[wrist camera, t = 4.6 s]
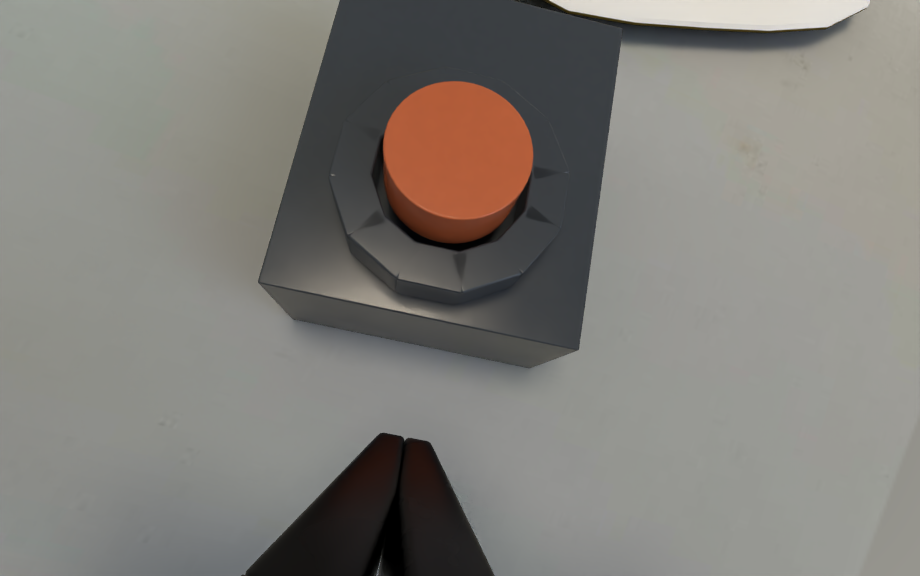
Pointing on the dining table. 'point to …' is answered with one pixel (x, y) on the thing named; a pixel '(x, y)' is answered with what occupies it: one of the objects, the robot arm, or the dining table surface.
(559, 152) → the control block
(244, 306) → the dining table surface
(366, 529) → the robot arm
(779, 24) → the plate
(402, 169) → the button
